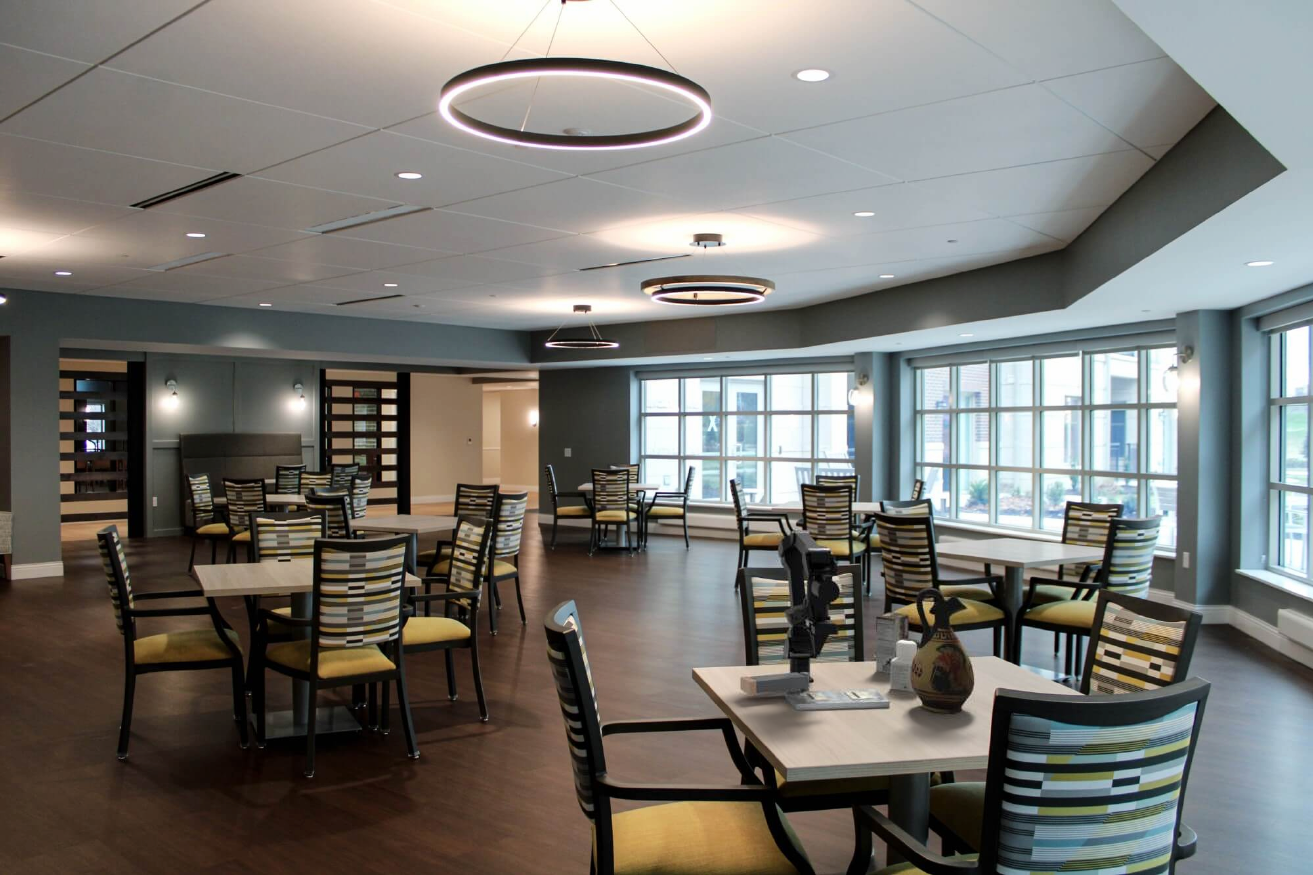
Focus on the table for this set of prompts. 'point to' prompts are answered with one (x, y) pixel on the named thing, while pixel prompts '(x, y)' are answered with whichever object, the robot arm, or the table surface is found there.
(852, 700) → the panel
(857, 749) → the table surface
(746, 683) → the swing bar
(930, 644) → the ceramic jug
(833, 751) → the table surface
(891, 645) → the coffee box
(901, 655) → the container
